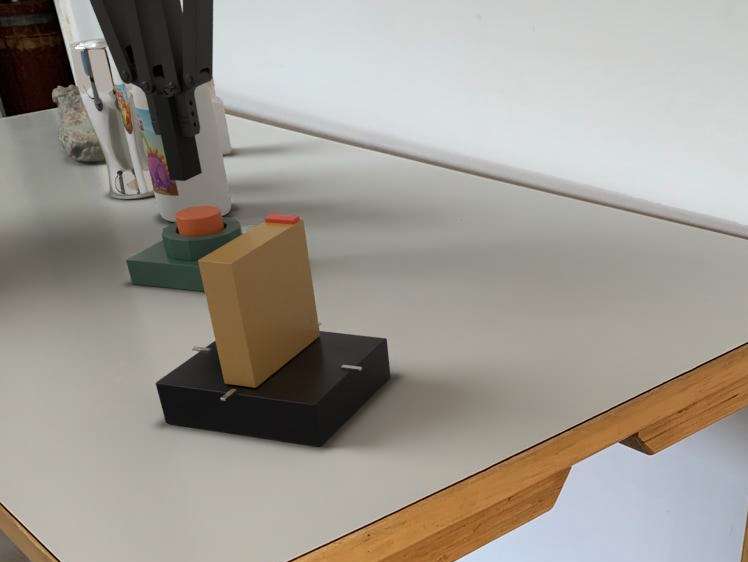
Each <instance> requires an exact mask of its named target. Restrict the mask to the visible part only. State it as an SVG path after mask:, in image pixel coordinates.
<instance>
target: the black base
mask: <svg viewBox="0 0 748 562" xmlns="http://www.w3.org/2000/svg"><path fill="white" fill-rule="evenodd" d="M318 324H319V327H320V326H321V325H322V321H318ZM319 331H320V336H319V337H318V338H317V339H315V340H314V341H313V342H312V343H310V344H309V345H308V346H307V347H306V348H304V349H303V350H302V351H301V352H299V353H298V354H297V355H296V356H295V357H293V358H292V359H291V360H290V361H288V362H287V363H286V364H285V365H283V366H282V367H281V368H280V369H279V370H277V371H276V372H275V373H274V374H272V375H271V376H270V377H269V378H267V379H266V380H265V381H264V382H263V383H261V384H260V385H259V386H258V387H256V388H253V387H246V386H238V385H231V384H225V382H224V378H223V373H222V369H221V364H220V359H219V355H218V350H217V346H216V341H215V340H214V341H213V342H211V343H209V344H208V345H206V346H204V347H203V346H197V345H196V346H195V345H194V346H192V347H191V351H195V352H196V353H195V354H194V355H193V356H191V357H190V358H188V359H187V360H186V361H184V362H183V363H181V364H180V365H178V366H177V367H176V368H174V369H173V370H171V371H170V372H169V373H167V374H166V375H165V376H162V377H161V378H160V379H159V380H157V381H156V382H155V386H156V391H157V395H158V399H159V402H160V405H161V410H162V413H163V416H164V421H165V423H166V424H169V425H174V426H175V425H176V426H182V427H189V428H194V429H195V428H196V429H202V430H209V431H213V432H214V431H215V432H221V433H227V434H235V435H240V436H246V437H247V436H248V437H255V438H260V439H268V440H272V441H273V440H274V441H280V442H287V443H293V444H300V445H307V446H313V447H319V448H320V447H323V446H324V444H325V443H326V442H328V440H330V439H331V438H332V437H333V435H335V434H336V432H338V431H339V429H341V427H343V426H344V425H345V423H347V422H348V421H349V420H350V419H351V417H352V416H354V415H355V414H356V413H357V411H359V410H360V409H361V408H362V407H363V406H364V405H365V404H366V403H367V402H368V401H369V400H370V399H371V398H372V397H373V396H374V395H375V394H376V393H377V392H378V391H379V390H380V389H381V388H382V387H383V386H384V385H385V384H386V383H388V381H389V380H390V379H391V365H390V356H389V346H388V340H387V338H386V337H378V336H369V335H360V334H351V333H340V332H333V331H325V330H319Z"/></svg>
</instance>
